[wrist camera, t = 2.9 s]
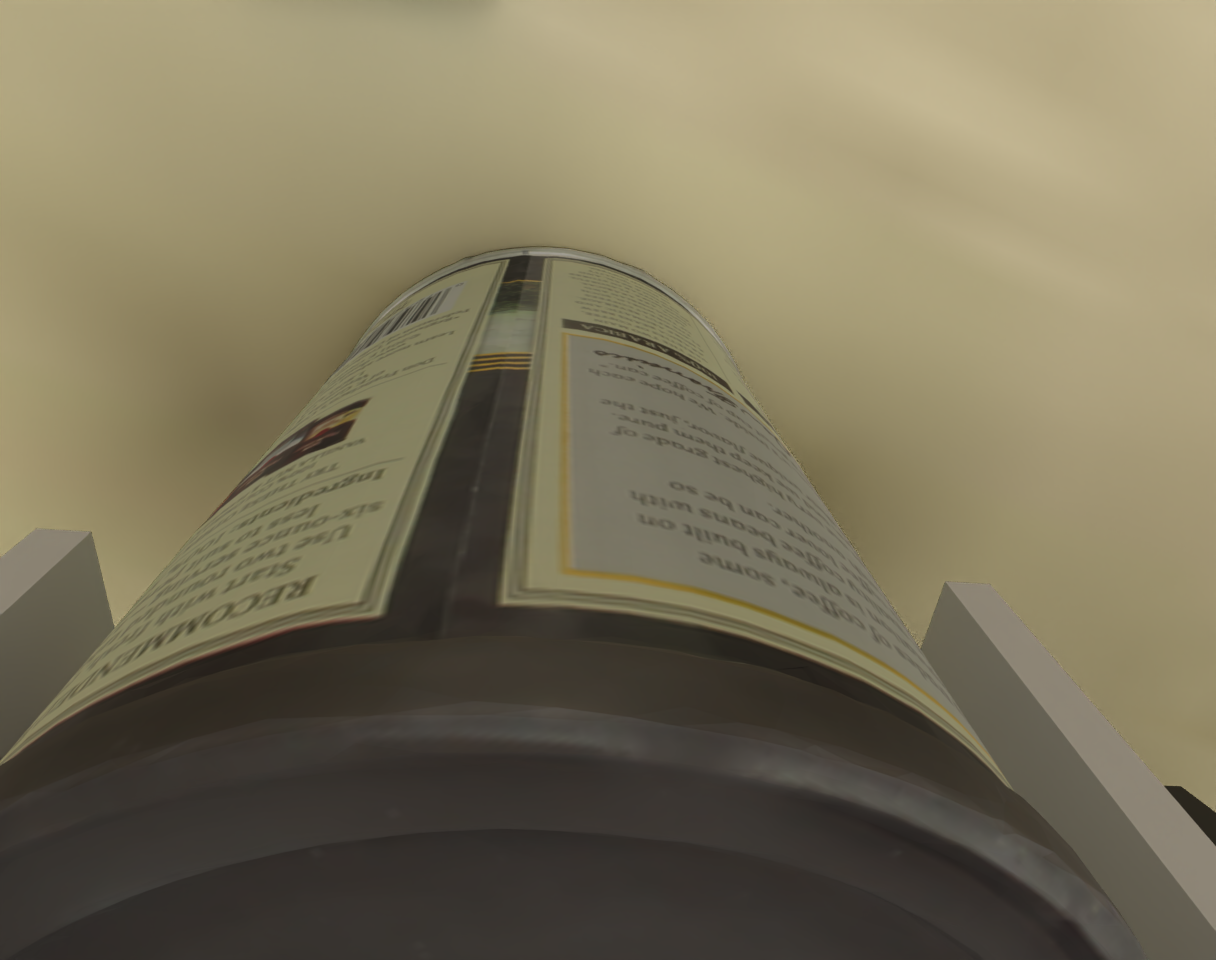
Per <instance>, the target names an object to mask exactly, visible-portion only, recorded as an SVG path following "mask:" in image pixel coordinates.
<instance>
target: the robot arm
mask: <svg viewBox="0 0 1216 960" xmlns="http://www.w3.org/2000/svg"><path fill="white" fill-rule="evenodd" d="M113 629H114V624H113V619H112V615H111V611H110V607H109V603H108V599H107V595H106V590H105V586H104V582H103V578H102V574H101V570H100V566H99V561H98V557H97V553H96V549H95V545H94V541H93V537H92V532H88V531H71V530H54V529H37V528H36V529H35V530H33V531H32V532H31V533H30V534H29V535H27V536H26V537H25V538H24V539H23V540H21V541H20V542H19V543H18V544H16V545H15V546H14V547H13V548H12V549H10V550H9V551H8V552H7V553H5V554H4V555H3V556H2V557H1V558H0V761H1V759H2V758H3V757H4V756H5V755H6V754H7V752H8V751H9V750H10V749H11V748H12V747H13V746H14V744H15V743H16V742H17V741H18V740H19V739H20V737H21V736H22V735H23V734H24V733H25V732H26V731H27V729H28V728H29V727H30V726H31V725H32V724H33V722H34V721H35V720H36V719H37V718H38V717H39V716H40V714H41V713H42V712H43V711H44V710H45V709H46V707H47V706H48V705H49V704H50V703H51V702H52V700H53V699H54V698H55V697H56V696H57V695H58V693H59V692H60V691H61V690H62V689H63V688H64V686H65V685H66V684H67V683H68V682H69V681H70V679H71V678H72V677H73V676H74V675H75V674H76V672H77V671H78V670H79V669H80V668H81V667H82V665H83V664H84V663H85V662H86V661H87V660H88V658H89V657H90V656H91V655H92V654H93V653H94V651H95V650H96V649H97V648H98V647H99V646H100V644H101V643H102V642H103V641H104V640H105V639H106V637H107V636H108V635H109V634H110V633H111V632H112V630H113ZM921 651H922V652H923V654H924V655H925V657H926V659H927V660H928V662H929V663H930V665H931V666H932V668H933V669H934V671H935V672H936V674H937V675H938V677H939V678H940V680H941V681H942V683H943V684H944V686H945V687H946V689H947V690H948V692H949V693H950V695H951V697H952V698H953V700H954V701H955V703H956V704H957V706H958V707H959V709H960V710H961V712H962V713H963V715H964V716H965V718H966V719H967V721H968V722H969V724H970V725H971V727H972V728H973V730H974V731H975V733H976V734H977V736H978V737H979V739H980V740H981V742H982V744H983V745H984V747H985V748H986V750H987V751H988V753H989V754H990V756H991V757H992V759H993V760H994V762H995V763H996V765H997V766H998V768H999V769H1000V771H1001V772H1002V774H1003V775H1004V777H1005V778H1006V780H1007V781H1008V783H1009V784H1010V786H1011V787H1012V789H1013V790H1014V792H1016V793H1017V794H1018V795H1020V796H1021V797H1022V798H1023V799H1024V800H1026V801H1027V802H1028V803H1029V804H1030V805H1031V806H1032V807H1033V808H1034V809H1035V810H1036V811H1037V812H1038V813H1039V814H1040V815H1041V816H1042V817H1043V818H1044V819H1045V820H1046V821H1047V822H1048V823H1049V824H1050V825H1051V826H1052V827H1053V828H1054V829H1055V831H1056V832H1057V833H1058V834H1059V835H1060V836H1061V837H1062V838H1063V839H1064V840H1065V841H1066V842H1067V843H1068V844H1069V845H1070V846H1071V848H1072V849H1073V850H1074V851H1075V852H1076V854H1077V855H1078V857H1079V858H1080V859H1081V861H1082V862H1083V863H1084V865H1085V866H1086V867H1087V869H1088V870H1089V871H1090V873H1091V874H1092V875H1093V877H1094V878H1095V880H1096V881H1097V882H1098V884H1099V885H1100V886H1101V888H1102V889H1103V890H1104V892H1105V893H1106V894H1107V896H1108V897H1109V898H1110V900H1111V901H1112V903H1113V904H1114V905H1115V907H1116V908H1117V909H1118V911H1119V912H1120V914H1121V915H1122V917H1123V918H1124V920H1125V921H1126V923H1127V924H1128V926H1129V927H1130V929H1131V930H1132V932H1133V933H1134V935H1135V937H1136V938H1137V940H1138V941H1139V943H1140V944H1141V946H1142V949H1143V951H1144V953H1145V955H1146V957H1147V959H1148V960H1216V813H1215V812H1214V811H1213V810H1211V809H1210V808H1209V807H1207V806H1206V805H1205V804H1204V803H1202V802H1201V801H1200V800H1198V799H1197V798H1196V797H1194V796H1193V795H1192V794H1190V793H1189V792H1188V791H1186V790H1185V789H1184V788H1182V787H1181V786H1163V784H1162V783H1161V782H1160V781H1159V780H1158V779H1157V777H1156V776H1155V775H1154V774H1153V773H1152V772H1151V770H1150V769H1149V768H1148V767H1147V766H1146V765H1145V763H1144V762H1143V761H1142V760H1141V759H1140V758H1139V757H1138V755H1137V754H1136V753H1135V752H1134V751H1133V750H1132V748H1131V747H1130V746H1129V745H1128V744H1127V743H1126V741H1125V740H1124V739H1123V738H1122V737H1121V736H1120V734H1119V733H1118V732H1117V731H1116V730H1115V729H1114V727H1113V726H1112V725H1111V724H1110V723H1109V722H1108V720H1107V719H1106V718H1105V717H1104V716H1103V715H1102V714H1101V712H1100V711H1099V710H1098V709H1097V708H1096V707H1095V705H1094V704H1093V703H1092V702H1091V701H1090V700H1089V698H1088V697H1087V696H1086V695H1085V694H1084V693H1083V691H1082V690H1081V689H1080V688H1079V687H1078V686H1077V684H1076V683H1075V682H1074V681H1073V680H1072V679H1071V678H1070V676H1069V675H1068V674H1067V673H1066V672H1065V671H1064V669H1063V668H1062V667H1061V666H1060V665H1059V664H1058V662H1057V661H1056V660H1055V659H1054V658H1053V657H1052V655H1051V654H1050V653H1049V652H1048V651H1047V650H1046V648H1045V647H1044V646H1043V645H1042V644H1041V643H1040V641H1039V640H1038V639H1037V638H1036V637H1035V636H1034V635H1033V633H1032V632H1031V631H1030V630H1029V629H1028V628H1027V626H1026V625H1025V624H1024V623H1023V622H1022V621H1021V619H1020V618H1019V617H1018V616H1017V615H1016V614H1015V612H1014V611H1013V610H1012V609H1011V608H1010V607H1009V605H1008V604H1007V603H1006V602H1005V601H1004V600H1003V598H1002V597H1001V596H1000V595H999V594H998V593H997V592H996V590H995V589H994V588H993V587H992V586H991V585H990V584H979V583H962V582H945V584H944V586H943V589H942V592H941V595H940V597H939V600H938V603H937V606H936V608H935V611H934V614H933V617H932V619H931V622H930V625H929V628H928V630H927V633H926V636H925V639H924V641H923V644H922V647H921Z"/></svg>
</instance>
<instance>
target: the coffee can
mask: <svg viewBox="0 0 1216 960" xmlns="http://www.w3.org/2000/svg"><path fill="white" fill-rule="evenodd" d="M0 960H1148V959H1147V957H1146V955H1145V953H1144V951H1143V949H1142V946H1141V944H1140V943H1139V941H1138V940H1137V938H1136V937H1135V935H1134V933H1133V932H1132V930H1131V929H1130V927H1129V926H1128V924H1127V923H1126V921H1125V920H1124V918H1123V917H1122V915H1121V914H1120V912H1119V911H1118V909H1117V908H1116V907H1115V905H1114V904H1113V903H1112V901H1111V900H1110V898H1109V897H1108V896H1107V894H1106V893H1105V892H1104V890H1103V889H1102V888H1101V886H1100V885H1099V884H1098V882H1097V881H1096V880H1095V878H1094V877H1093V875H1092V874H1091V873H1090V871H1089V870H1088V869H1087V867H1086V866H1085V865H1084V863H1083V862H1082V861H1081V859H1080V858H1079V857H1078V855H1077V854H1076V852H1075V851H1074V850H1073V849H1072V848H1071V846H1070V845H1069V844H1068V843H1067V842H1066V841H1065V840H1064V839H1063V838H1062V837H1061V836H1060V835H1059V834H1058V833H1057V832H1056V831H1055V829H1054V828H1053V827H1052V826H1051V825H1050V824H1049V823H1048V822H1047V821H1046V820H1045V819H1044V818H1043V817H1042V816H1041V815H1040V814H1039V813H1038V812H1037V811H1036V810H1035V809H1034V808H1033V807H1032V806H1031V805H1030V804H1029V803H1028V802H1027V801H1026V800H1024V799H1023V798H1022V797H1021V796H1020V795H1018V794H1017V793H1016V792H1014V790H1013V789H1012V787H1011V786H1010V784H1009V783H1008V781H1007V780H1006V778H1005V777H1004V775H1003V774H1002V772H1001V771H1000V769H999V768H998V766H997V765H996V763H995V762H994V760H993V759H992V757H991V756H990V754H989V753H988V751H987V750H986V748H985V747H984V745H983V744H982V742H981V740H980V739H979V737H978V736H977V734H976V733H975V731H974V730H973V728H972V727H971V725H970V724H969V722H968V721H967V719H966V718H965V716H964V715H963V713H962V712H961V710H960V709H959V707H958V706H957V704H956V703H955V701H954V700H953V698H952V697H951V695H950V693H949V692H948V690H947V689H946V687H945V686H944V684H943V683H942V681H941V680H940V678H939V677H938V675H937V674H936V672H935V671H934V669H933V668H932V666H931V665H930V663H929V662H928V660H927V659H926V657H925V655H924V654H923V652H922V651H921V649H920V648H919V646H918V645H917V643H916V642H915V640H914V639H913V637H912V636H911V634H910V633H909V631H908V630H907V628H906V627H905V625H904V624H903V622H902V621H901V619H900V618H899V616H898V614H897V613H896V611H895V610H894V608H893V607H892V605H891V604H890V602H889V601H888V599H887V598H886V596H885V595H884V593H883V592H882V590H881V589H880V587H879V586H878V584H877V583H876V581H875V580H874V578H873V577H872V575H871V574H870V572H869V571H868V569H867V568H866V566H865V565H864V563H863V561H862V560H861V558H860V557H859V555H858V554H857V552H856V551H855V549H854V548H853V546H852V545H851V543H850V542H849V540H848V539H847V537H846V536H845V534H844V533H843V531H842V530H841V528H840V527H839V525H838V524H837V522H836V521H835V519H834V518H833V516H832V515H831V513H830V512H829V510H828V509H827V507H826V506H825V504H824V503H823V501H822V500H821V498H820V497H819V495H818V494H817V492H816V491H815V489H814V487H813V486H812V484H811V483H810V482H809V480H808V479H807V477H806V475H805V473H804V472H803V470H802V468H801V466H800V465H799V463H798V462H797V460H796V459H795V458H794V456H793V455H792V454H791V452H790V451H789V449H788V448H787V447H786V445H785V443H784V442H783V440H782V439H781V437H780V436H779V434H778V433H777V431H776V430H775V428H774V426H773V425H772V423H771V422H770V420H769V419H768V417H767V415H766V414H765V412H764V411H763V409H762V407H761V406H760V404H759V403H758V401H757V400H756V399H755V397H754V396H753V394H752V393H751V391H750V389H749V388H748V386H747V385H746V383H745V382H744V380H743V378H742V376H741V374H740V372H739V370H738V368H737V365H736V363H735V361H734V360H733V358H732V356H731V354H730V352H729V351H728V349H727V347H726V346H725V344H724V343H723V342H722V340H721V339H720V338H719V336H718V335H717V333H716V332H715V331H714V329H713V328H712V326H711V325H710V324H709V323H708V322H707V321H706V320H705V319H704V318H703V317H702V315H701V314H700V313H699V312H698V311H697V310H696V309H695V308H693V307H692V306H691V305H690V304H689V303H688V302H687V301H685V300H684V299H683V298H682V297H681V296H679V295H678V294H677V293H675V292H674V291H673V290H671V289H670V288H668V287H667V286H665V285H664V284H662V283H661V282H659V281H657V280H656V279H654V278H653V277H651V276H650V275H649V274H647V273H646V272H644V271H643V270H640V269H638V268H635V267H632V266H629V265H625V264H623V263H620V262H617V261H615V260H612V259H610V258H607V257H605V256H601V255H597V254H592V253H587V252H582V251H577V250H572V249H566V248H553V247H526V248H515V249H505V250H499V251H494V252H489V253H484V254H481V255H478V256H475V257H470V258H464V259H462V260H460V261H458V262H457V263H454V264H452V265H450V266H448V267H445V268H443V269H441V270H439V271H437V272H435V273H433V274H432V275H430V276H428V277H426V278H424V279H423V280H421V281H420V282H418V283H417V284H415V285H414V286H412V287H411V288H409V289H408V290H406V291H405V292H404V293H402V294H401V295H400V296H399V297H398V298H397V299H396V300H394V301H393V302H392V303H391V304H390V305H389V306H388V307H387V308H386V309H384V310H383V311H382V313H381V314H380V315H379V316H378V317H377V318H376V319H375V321H374V322H373V323H372V324H371V325H370V327H369V328H368V329H367V331H366V332H365V333H364V335H363V336H362V337H361V339H360V340H359V341H358V343H357V345H356V346H355V348H354V349H353V351H352V352H351V354H350V355H349V357H348V358H347V359H346V360H345V361H344V362H343V363H342V364H341V365H340V366H339V367H338V368H337V370H336V371H335V372H334V373H333V374H332V375H331V376H330V378H329V379H328V380H327V381H326V382H325V384H324V385H323V386H322V387H321V388H320V390H319V391H318V392H317V393H316V395H315V396H314V397H313V398H312V399H311V400H310V402H309V403H308V404H307V405H306V406H305V407H304V408H303V410H302V411H301V412H300V413H299V414H298V415H297V417H296V418H295V419H294V420H293V421H292V422H291V424H290V425H289V426H288V427H287V428H286V429H285V430H284V432H283V433H282V434H281V435H280V436H279V437H278V439H277V440H276V441H275V442H274V443H273V444H272V446H271V447H270V448H269V449H268V450H267V452H266V453H265V454H264V455H263V456H262V457H261V459H260V460H259V461H258V462H257V463H256V464H255V466H254V467H253V468H252V469H251V470H250V471H249V473H248V474H247V475H246V476H245V477H244V478H243V480H242V481H241V482H240V483H239V484H238V485H237V487H236V488H235V489H234V490H233V491H232V492H231V494H230V495H229V496H228V497H227V498H226V499H225V500H224V501H223V503H222V504H221V505H220V506H219V507H218V508H217V509H216V510H215V511H214V512H213V513H212V514H211V516H210V517H209V519H208V520H207V521H206V522H205V523H204V524H203V525H202V526H201V527H200V528H199V529H198V530H197V531H196V532H195V533H194V534H193V535H192V537H191V538H190V539H189V540H188V541H187V542H186V544H185V545H184V546H183V547H182V548H181V549H180V551H179V552H178V553H177V554H176V556H175V557H174V558H173V559H172V561H171V562H170V563H169V564H168V566H167V567H166V568H165V569H164V570H163V571H162V572H161V573H160V574H159V576H158V577H157V578H156V579H155V580H154V582H153V583H152V584H151V585H150V586H149V588H148V589H147V590H146V591H145V592H144V594H143V595H142V596H141V597H140V598H139V600H138V601H137V602H136V603H135V604H134V606H133V607H132V608H131V609H130V610H129V612H128V613H127V614H126V615H125V616H124V618H123V619H122V620H121V621H120V622H119V623H118V625H117V626H116V627H115V628H114V629H113V630H112V632H111V633H110V634H109V635H108V636H107V637H106V639H105V640H104V641H103V642H102V643H101V644H100V646H99V647H98V648H97V649H96V650H95V651H94V653H93V654H92V655H91V656H90V657H89V658H88V660H87V661H86V662H85V663H84V664H83V665H82V667H81V668H80V669H79V670H78V671H77V672H76V674H75V675H74V676H73V677H72V678H71V679H70V681H69V682H68V683H67V684H66V685H65V686H64V688H63V689H62V690H61V691H60V692H59V693H58V695H57V696H56V697H55V698H54V699H53V700H52V702H51V703H50V704H49V705H48V706H47V707H46V709H45V710H44V711H43V712H42V713H41V714H40V716H39V717H38V718H37V719H36V720H35V721H34V722H33V724H32V725H31V726H30V727H29V728H28V729H27V731H26V732H25V733H24V734H23V735H22V736H21V737H20V739H19V740H18V741H17V742H16V743H15V744H14V746H13V747H12V748H11V749H10V750H9V751H8V752H7V754H6V755H5V756H4V757H3V758H2V759H1V761H0Z"/></svg>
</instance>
